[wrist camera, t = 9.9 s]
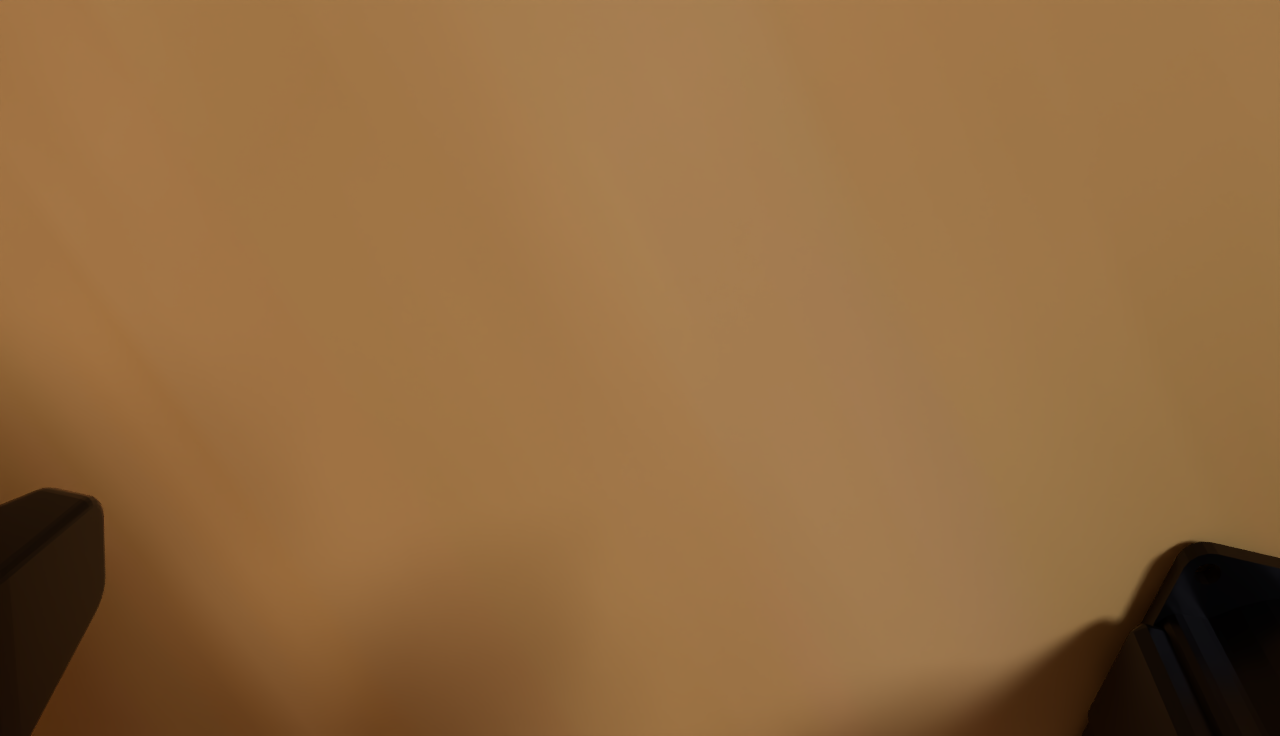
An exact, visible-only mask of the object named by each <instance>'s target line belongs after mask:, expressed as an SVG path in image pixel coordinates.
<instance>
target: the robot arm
mask: <svg viewBox="0 0 1280 736" xmlns="http://www.w3.org/2000/svg"><path fill="white" fill-rule="evenodd" d="M1205 564H1214V565H1213V566H1212V567H1211V568H1210V569H1209V570H1207V571H1205V572H1195V571H1196V570H1197V569H1198V568H1199V567H1200V566H1202V565H1205ZM104 585H105V545H104V515H103V509H102V506H101V504H100V502H99V501H98V500H97V499H96V498H94V497H93V496H90V495H85V494H81V493H76V492H71V491H67V490H62V489H57V488H42V489H39V490H36V491H33V492H31V493H28V494H26V495H23V496H21V497H18V498H16V499H14V500H11V501H9V502H6V503H4V504H1V505H0V736H31V734H32V732H33V730H34V728H35V726H36V724H37V722H38V720H39V719H40V717H41V715H42V713H43V711H44V709H45V707H46V705H47V703H48V702H49V700H50V698H51V696H52V694H53V692H54V690H55V688H56V686H57V685H58V683H59V681H60V679H61V677H62V675H63V673H64V671H65V669H66V667H67V666H68V664H69V662H70V660H71V658H72V656H73V654H74V652H75V650H76V649H77V647H78V645H79V643H80V641H81V639H82V637H83V635H84V633H85V632H86V630H87V628H88V626H89V624H90V622H91V620H92V618H93V616H94V615H95V613H96V611H97V608H98V606H99V604H100V601H101V598H102V595H103V591H104ZM1088 719H1089V723H1088V725H1087V727H1086V729H1085V731H1084V732H1083V734H1082V736H1280V558H1277V557H1273V556H1268V555H1264V554H1260V553H1255V552H1251V551H1247V550H1242V549H1238V548H1234V547H1229V546H1225V545H1221V544H1216V543H1212V542H1199V543H1195V544H1191V545H1190V546H1188V547H1186V548H1185V549H1183V550H1182V551H1181V552H1180V554H1179V555H1178V556H1177V558H1176V559H1175V561H1174V563H1173V565H1172V567H1171V569H1170V571H1169V573H1168V575H1167V576H1166V578H1165V580H1164V582H1163V584H1162V586H1161V588H1160V590H1159V591H1158V593H1157V595H1156V597H1155V599H1154V601H1153V603H1152V605H1151V606H1150V608H1149V610H1148V612H1147V614H1146V616H1145V618H1144V620H1143V622H1142V623H1141V624H1140V625H1138V626H1137V627H1136V628H1135V629H1133V630H1132V631H1131V632H1130V633H1129V635H1128V637H1127V639H1126V641H1125V643H1124V645H1123V647H1122V649H1121V650H1120V652H1119V654H1118V656H1117V658H1116V660H1115V662H1114V664H1113V666H1112V668H1111V669H1110V671H1109V673H1108V675H1107V677H1106V679H1105V681H1104V683H1103V685H1102V686H1101V688H1100V690H1099V692H1098V694H1097V696H1096V698H1095V700H1094V702H1093V703H1092V705H1091V707H1090V709H1089V711H1088Z"/></svg>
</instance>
